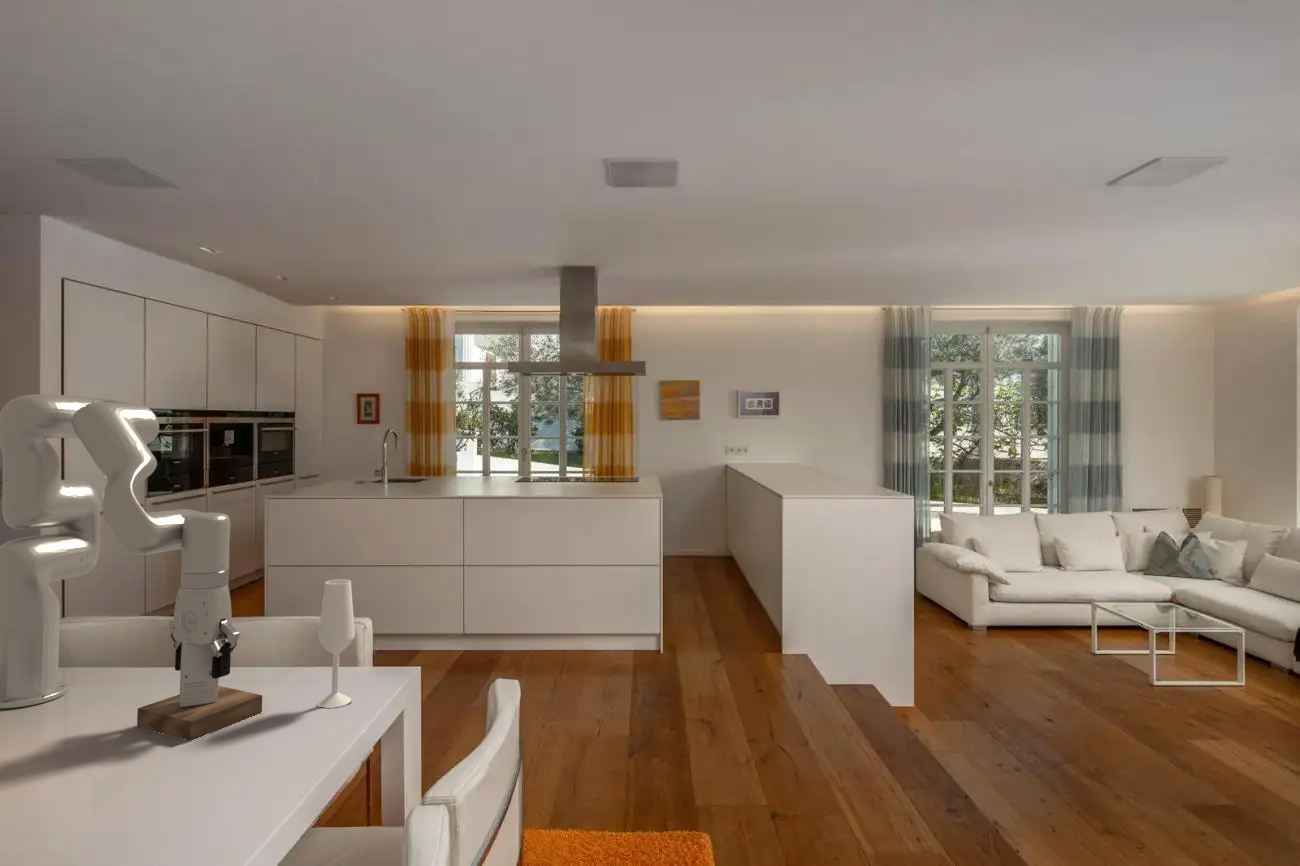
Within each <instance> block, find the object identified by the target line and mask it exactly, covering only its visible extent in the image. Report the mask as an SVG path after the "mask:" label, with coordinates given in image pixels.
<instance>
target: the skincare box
mask: <svg viewBox="0 0 1300 866" xmlns="http://www.w3.org/2000/svg"><path fill="white" fill-rule="evenodd" d="M219 638H220V637H219ZM216 639H218V638H216ZM218 645H219V647H220V648H221V643H220V644H218ZM214 656H215V654H214V652H213V650H212V648H211V646H210V645H208V646H198V645H193V644H190V643H189V640H185V639H183V642H182V650H181V670H180V671H179V673H180V675H179V676H180V681H179V694H180V697H179V704H180V707H186V706H193V705H200V704H206V703H213V702H217V700H218V686H219V678H217V679H214V678H212V657H214Z"/></svg>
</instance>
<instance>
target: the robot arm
mask: <svg viewBox="0 0 1300 866" xmlns="http://www.w3.org/2000/svg"><path fill="white" fill-rule="evenodd" d="M159 432H160V423H159V420H158V417H157V416H156V414H155V413H154V411H152V410H151V409H150V408H149V407H147V406H146V405H144V404H140V403H132V402H126V401H121V400H120V401H119V400H115V399H108V398H101V397H92V396H81V395H80V396H77V395H76V396H75V395H67V394H51V393H50V394H45V393H43V394H41V393H39V394H37V393H35V394H26V395H21V396H17V397H15V398H13V399H11V400H9V401H8V402H7V403H6V404H5V405H4V406H2V409H1V410H0V450H1V455H2V488H1V490H2V492H1V493H2V494H1V495H2V496H1V499H2V501H1V507H2V508H1V509H2V510H1V511H2V516H3V520H4V522H5V524H6V525H7V526H8V527H9V528H12V529H14V530H19V531H20V530H22V531H25V530H26V531H28V530H41V529H50V528H57V533H49V534H47V533H46V534H38V535H31V536H24V537H19V538H15V539H12V540H8V541H6V542H4V543H3V544H1V545H0V709H1V710H2V709H3V710H4V709H5V710H6V709H16V708H23V707H29V706H34V705H39V704H43V703H46V702H50V701H53V700H56V699H57V698H59V697H61V696H63V695H65V694H66V693H67V692H68V687H69V686H68V684H67V683H66V682H63V681H59V655H60V627H61V626H60V623H61V622H60V621H61V620H60V619H61V608H60V607H61V605H60V601H59V598H58V597H57V595H56V593H55V592H54V591H53V589H52V588H51V587H50V585H49V583H52V582H56V581H57V582H58V581H62V580H68V579H72V578H77V577H81V576H84V575H87V574H88V573H90V572H91V571H92V570H94V568H95V567H96V565H97V563H98V561H99V556H100V549H101V548H100V547H101V546H100V542H101V537H100V536H101V501H100V497H99V495H98V492H97V491H96V489H95V488H94V487H93V486H92V484H90V483H89V482H87V481H84V480H81V479H61V478H60V477H61V476H60V465H61V464H60V458H59V456H58V453H57V452H56V450H55V448H54V447H53V446H52V445H51V443H50V442H49V441H48V440H47V439H50V438H51V439H53V438H54V439H55V438H56V439H59V438H60V439H79V440H80V442H81V443H82V445H83V446H84V448H85V449H86V451H87V453H88V454H89V456H90V457H91V458H92V459H93V461H94V463H95V464H96V466H97V468H98V469H99V471H100V472H101V473H102V475H103V476H104V478H105V479H106V485H105V488H104V489H103V493H102V515H103V518H104V520H105V522H106V525H107V527H109V530H110V531H111V532H112V534H113V535H114V537H115V538H116V540H117V541H118V542H119V543H120V545H121V546H122V547H123V548H124V549H125V550H127V551H128V552H130V553H131V554H135V555H138V556H147V555H153V554H159V553H164V552H172V551H179V550H181V569H180V570H181V571H180V573H181V574H180V586H179V587H178V591H177V594H176V598H175V605H174V610H173V618H172V619H173V620H171V621H169V622H168V627H169V629H170V637H171V639H172V641H173V645H172V646H173V648H174V650H175V656H174V659H175V660H174V662H175V663H174V670H175V671H178V672H181V650H182V642H183V639H185V640H189V643H190V644H193V645H198V646H208V645H210V646H211V648H212V650H213V652H214V654H215V656H214V657H212V678H214V679H217V678H218V679H220V678H222V677H225V676H228V675H229V674H230V673H231V658H232V657H231V654H233V653H234V649H235V648H236V647H237V645H238V641H239V638H240V636H241V633H240V631H239V630H237V629H236V628H235V627H234V626H233V625H232V624H233V623H232V619H233V616H232V601H231V593H230V588H229V579H230V578H229V575H230V547H231V546H230V545H231V544H230V540H231V520H230V517H229V515H228V514H226V513H222V512H202V511H199V510H195V509H188V508H185V509H184V508H183V509H172V510H160V511H151V512H146V511H145V510H144V508H143V506H141V504H140V502H139V501H138V499H137V496H136V495H135V493H134V486H136V485H137V484H139V483H141V482H142V481H144V480H146V479H147V478H149V477H150V476H151V475H152V474H153V473H154V471H155V470H156V468H157V467H158V466H157V465H158V461H157V459H156V457H155V455H154V454H153V452H152V451H151V450H150V448H149V446H148V444H150V443H152V442H153V441H154V440H155V439H156V438H157V437H158V435H159ZM219 637H220V638H219ZM216 638H218V639H216ZM218 644H220V645H221V644H222V645H221V646H220V647H219V645H218Z"/></svg>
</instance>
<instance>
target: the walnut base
mask: <svg viewBox="0 0 1300 866" xmlns="http://www.w3.org/2000/svg"><path fill="white" fill-rule="evenodd" d="M179 697H180V693H179V694H177V695H173V696H171V697H168V698H165V699H162V700H159V701H156V702H153V703H150V704H147V705H144V706H140V707H138V708H137V714H136V715H137V717H136V728H137V727H139V729H141V728H143V729H142V730H145V729H146V730H145V731H149V730H151V731H150V732H153V731H156V732H155V733H157V732H160V733H164V734H167V735H166V736H168V735H170V736H169V737H172V736H174V737H173V738H176V737H178V738H177V739H180V738H182V739H181V740H183V739H186V740H185V741H187V740H191V741H190V742H193V741H192V740H194V739H196V740H198V739H197V738H199V737H201V738H203V737H202V736H204V735H206V734H209V733H211V734H213V733H212V732H214V733H216V732H218V731H217V730H219V731H221V730H224V729H226V728H228V726H229V727H231V726H233V725H232V724H234V725H236V724H238V723H237V722H239V723H241V722H243V721H242V720H244V721H246V720H248V719H247V718H249V717H251V718H253V717H252V716H254V717H256V716H258V715H257V714H259V715H261V714H262V713H263V695H262V694H258V693H255V692H248V691H244V690H240V689H235V688H230V687H226V686H221V685H218V700H217V702H213V703H206V704H200V705H193V706H186V707H180V704H179ZM261 712H262V713H261ZM260 713H261V714H260ZM255 715H256V716H255ZM245 719H246V720H245ZM249 719H250V718H249ZM240 721H241V722H240ZM235 723H236V724H235ZM230 725H231V726H230ZM225 727H226V728H225ZM223 728H224V729H223ZM220 729H221V730H220ZM215 731H216V732H215ZM160 733H159V734H160ZM164 734H163V735H164ZM209 735H210V734H209ZM206 736H207V735H206ZM204 737H205V736H204ZM199 739H200V738H199ZM194 741H195V740H194Z"/></svg>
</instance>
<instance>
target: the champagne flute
mask: <svg viewBox="0 0 1300 866" xmlns="http://www.w3.org/2000/svg"><path fill="white" fill-rule="evenodd" d="M352 591H353V590H352V580H350V579H344V578H343V579H341V578H340V579H330V580H327V581H325V583H324V588H323V596H322V597H323V598H322V603H321V604H322V605H321V612H320V619H319V620H320V622H319V629H318V636H317V639H318V642H319V643H320V645H321V646H322V648H323V649H324V650H326V651H327V652H328V653H330V654H331V655H332V673H331V677H332V678H331V693H330V694H328V695H326V696H325V697H323V698H321V699H320V700H318V701H317V702H318V704H319V705H320V706H322V707H336V706H342V705H345V704H347V703H349V702H350V701H351V697H349V696H347V695H345V694H343V693H342V692H339V683H340V682H339V680H340V676H339V674H340V673H339V672H340V654H341V653H342V652H344V651H345V650H346V649H347V648H348V647H349V646H350V645H351V644H352V642H353V641H354V639H355V637H356V636H355V635H356V634H355V621H354V620H355V618H354V607H353V606H354V605H353V592H352Z"/></svg>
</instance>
